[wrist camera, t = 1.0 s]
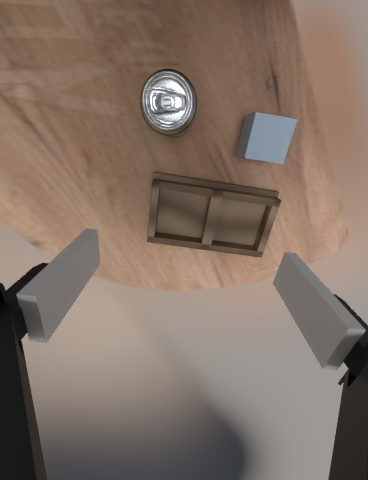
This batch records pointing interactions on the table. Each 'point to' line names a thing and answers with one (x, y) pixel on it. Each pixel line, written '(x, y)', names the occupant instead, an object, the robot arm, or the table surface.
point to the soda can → (168, 102)
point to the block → (265, 137)
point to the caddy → (211, 215)
